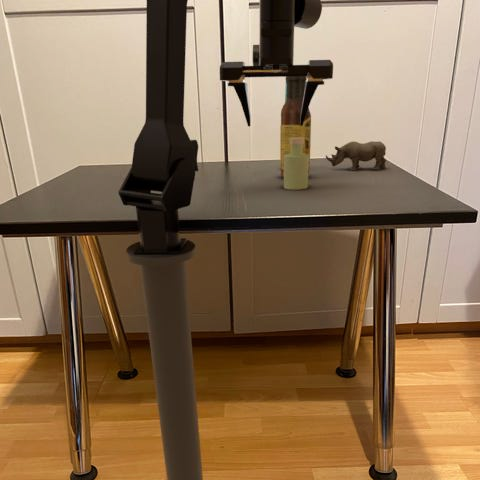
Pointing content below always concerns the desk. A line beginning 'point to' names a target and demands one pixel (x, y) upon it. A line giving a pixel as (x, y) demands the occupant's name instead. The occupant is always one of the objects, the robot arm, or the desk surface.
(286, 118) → the sauce bottle
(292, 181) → the small bottle
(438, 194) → the desk surface
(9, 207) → the desk surface
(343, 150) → the rhino figurine
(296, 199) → the desk surface
